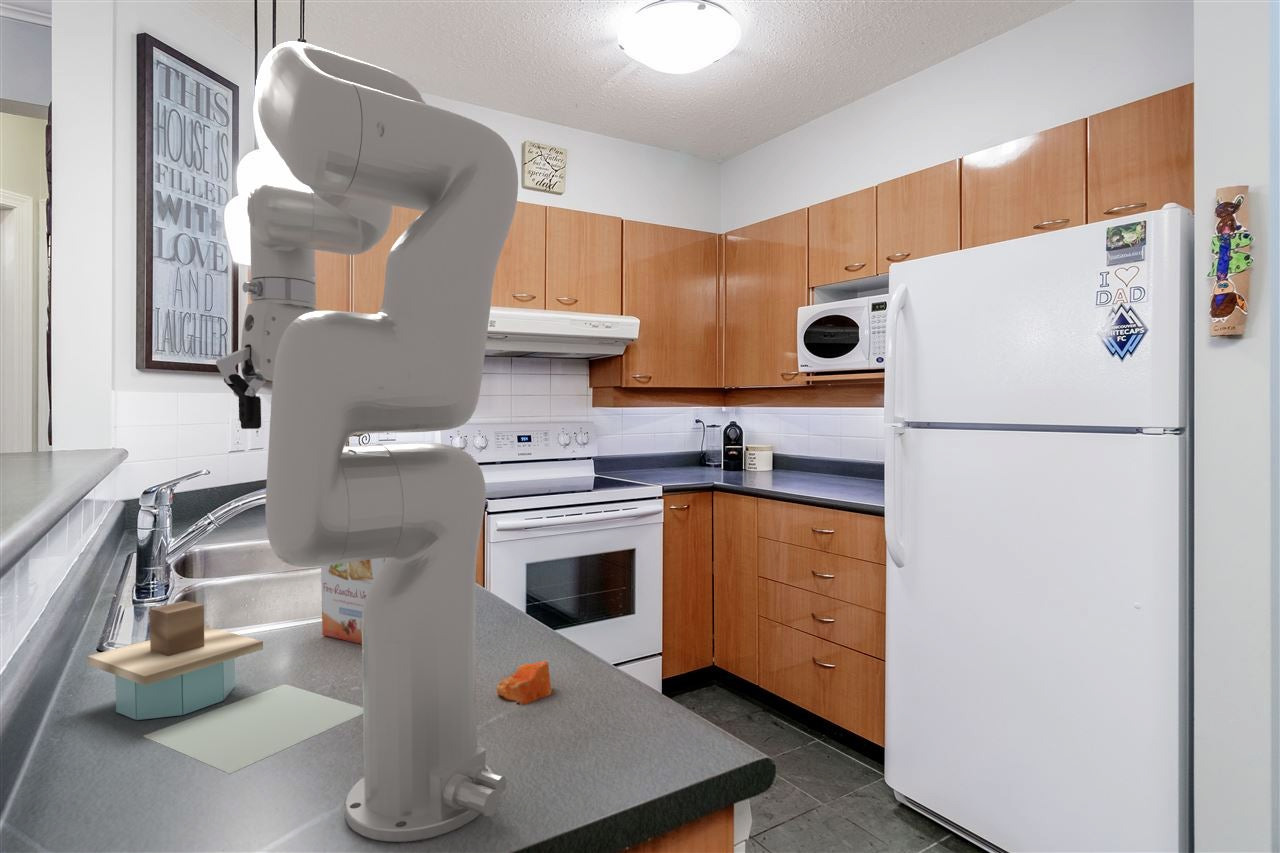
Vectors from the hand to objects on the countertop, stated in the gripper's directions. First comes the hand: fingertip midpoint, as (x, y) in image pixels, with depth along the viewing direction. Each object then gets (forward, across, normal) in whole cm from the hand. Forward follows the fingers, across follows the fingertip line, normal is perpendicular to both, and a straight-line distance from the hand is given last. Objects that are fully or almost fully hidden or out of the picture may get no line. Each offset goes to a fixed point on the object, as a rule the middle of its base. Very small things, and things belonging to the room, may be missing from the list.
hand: (286, 428), depth 91 cm
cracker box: (+33, +15, +4) cm, 36 cm away
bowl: (+33, -12, +4) cm, 35 cm away
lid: (+27, -12, +4) cm, 30 cm away
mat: (+33, -11, -11) cm, 36 cm away
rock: (+34, +10, -31) cm, 47 cm away
